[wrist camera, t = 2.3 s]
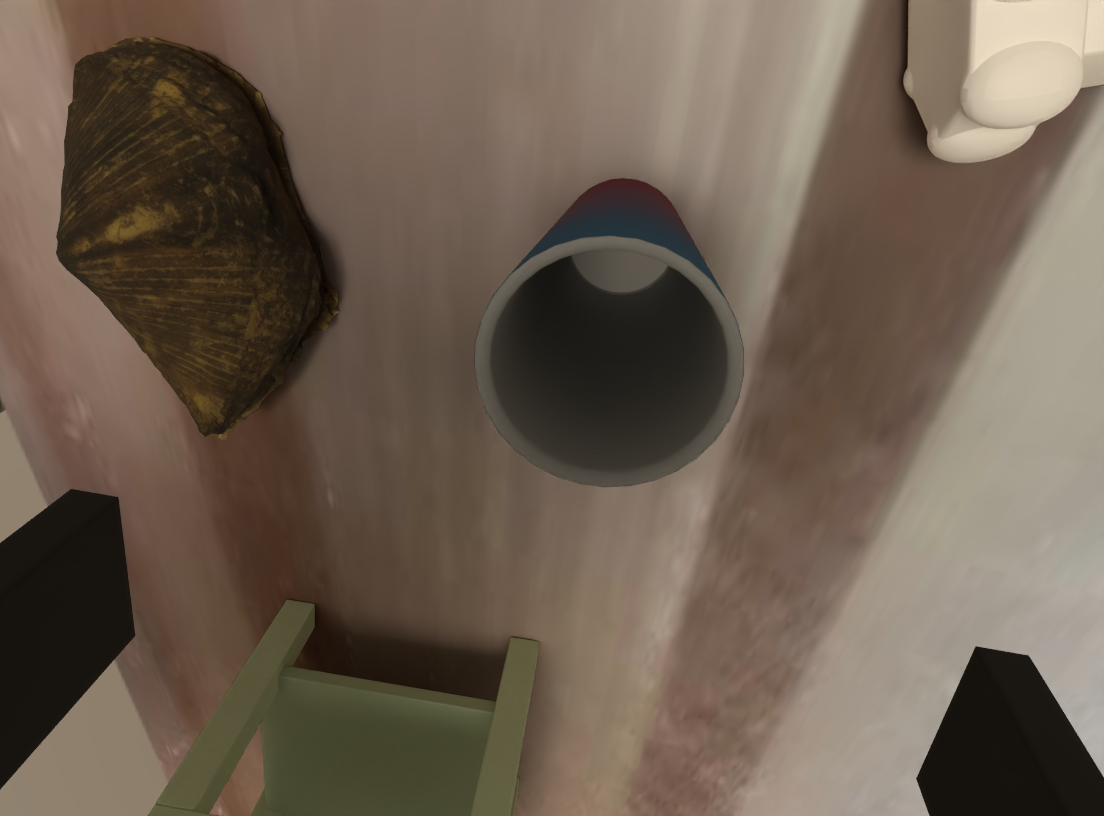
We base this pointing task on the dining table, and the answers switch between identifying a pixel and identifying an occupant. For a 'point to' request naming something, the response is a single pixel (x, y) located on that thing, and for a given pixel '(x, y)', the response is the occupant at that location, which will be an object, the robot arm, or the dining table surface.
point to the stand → (357, 739)
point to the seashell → (190, 224)
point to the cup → (611, 344)
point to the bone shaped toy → (998, 69)
